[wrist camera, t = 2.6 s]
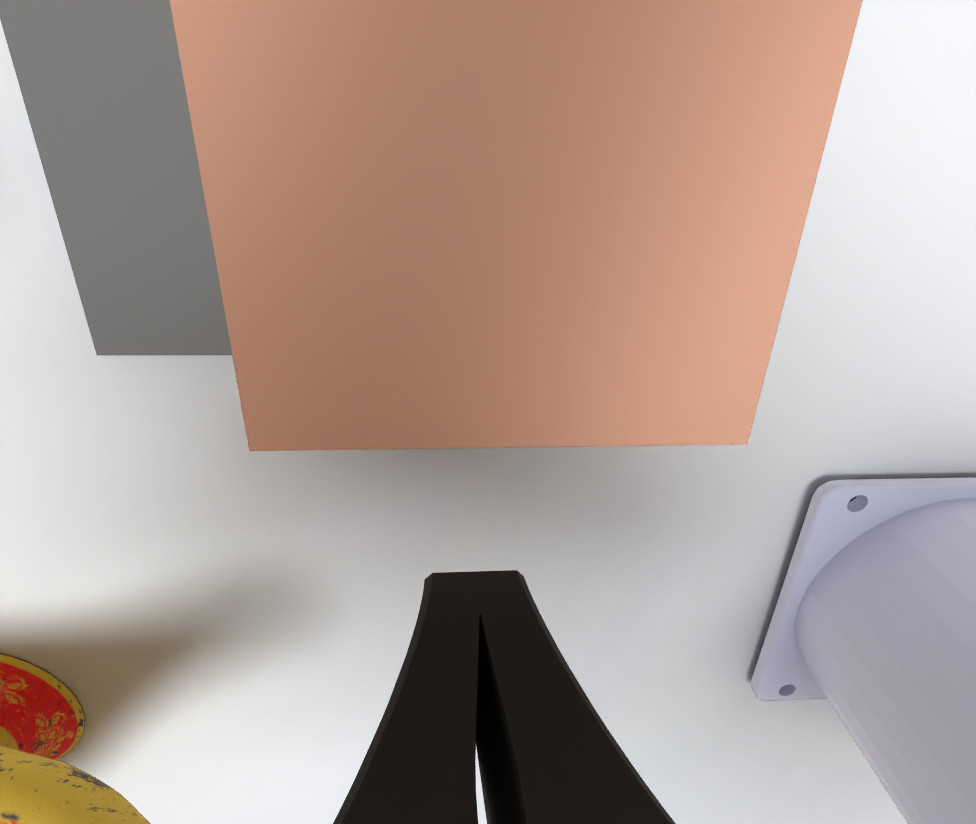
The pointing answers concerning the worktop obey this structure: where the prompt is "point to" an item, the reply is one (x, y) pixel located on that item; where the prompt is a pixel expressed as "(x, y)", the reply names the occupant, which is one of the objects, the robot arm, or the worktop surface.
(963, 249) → the worktop surface
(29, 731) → the magic lamp
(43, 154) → the rubber mat
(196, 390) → the worktop surface
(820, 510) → the robot arm
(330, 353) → the maple block
